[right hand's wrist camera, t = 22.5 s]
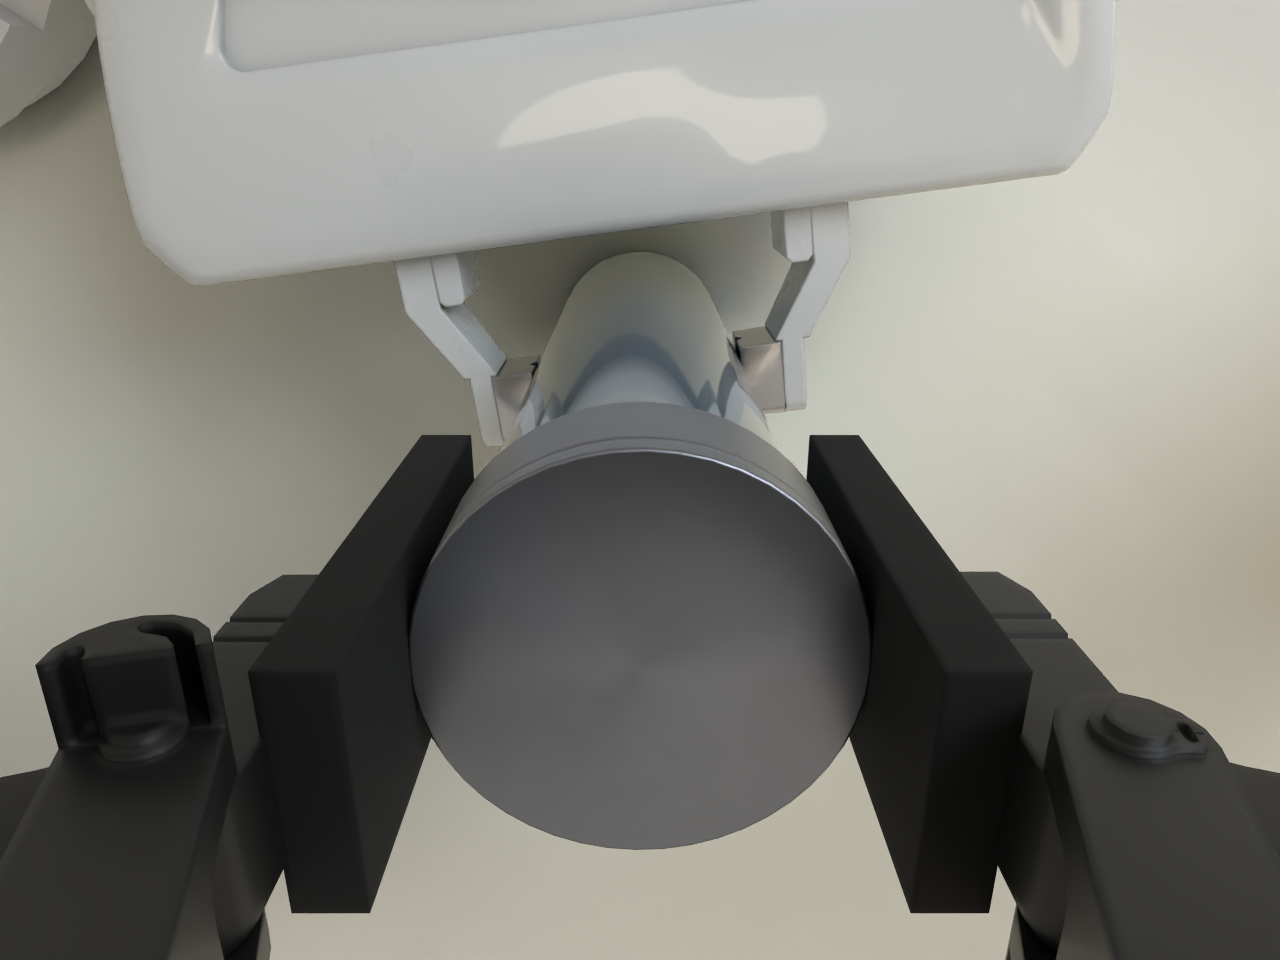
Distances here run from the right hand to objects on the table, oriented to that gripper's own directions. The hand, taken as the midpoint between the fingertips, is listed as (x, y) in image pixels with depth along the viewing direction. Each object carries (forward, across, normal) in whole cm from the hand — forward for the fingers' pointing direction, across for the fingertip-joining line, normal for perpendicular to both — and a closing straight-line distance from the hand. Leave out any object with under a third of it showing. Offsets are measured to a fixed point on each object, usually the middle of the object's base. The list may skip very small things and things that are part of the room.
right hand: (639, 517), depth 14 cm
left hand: (+8, 0, -1) cm, 8 cm away
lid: (-4, 0, 0) cm, 4 cm away
